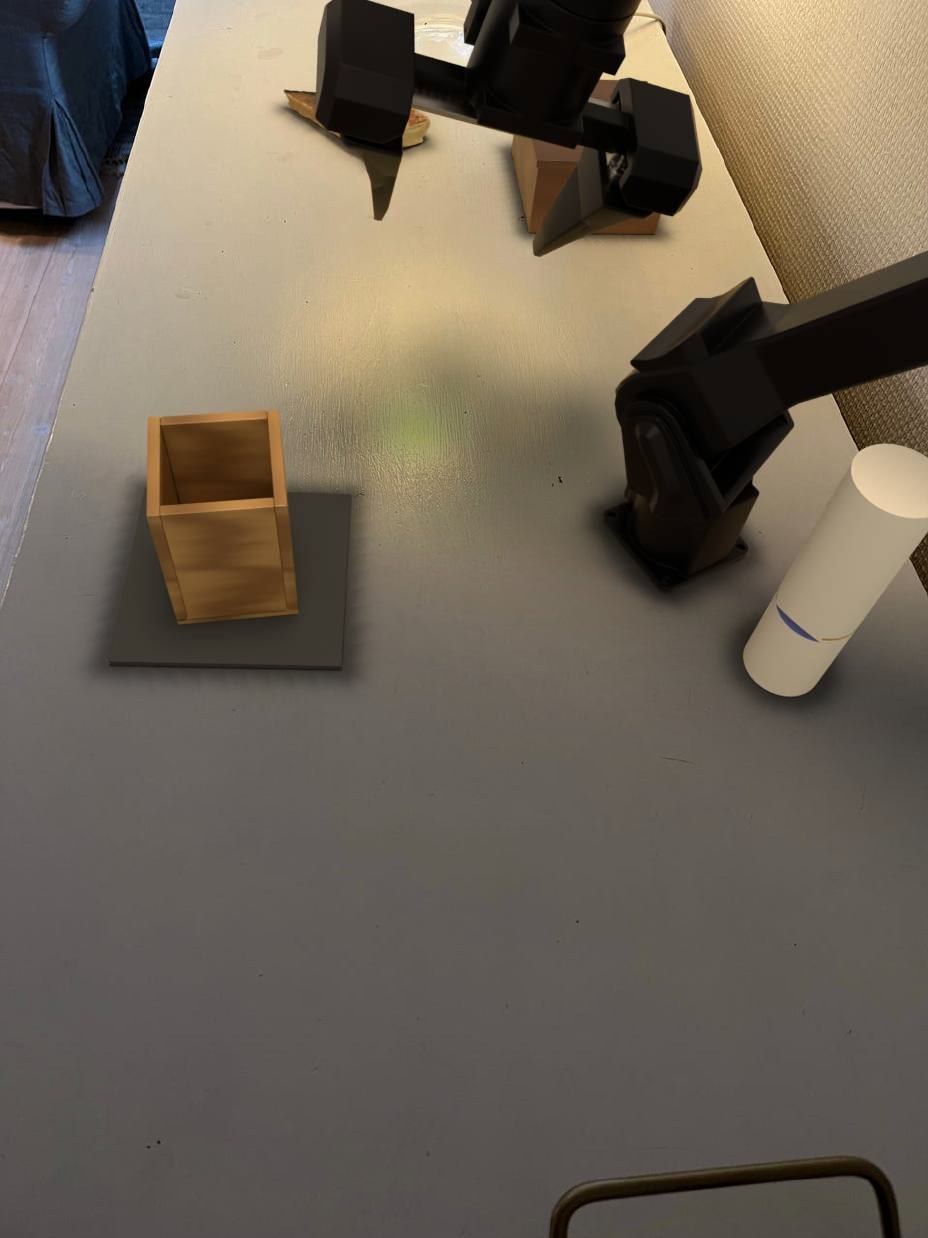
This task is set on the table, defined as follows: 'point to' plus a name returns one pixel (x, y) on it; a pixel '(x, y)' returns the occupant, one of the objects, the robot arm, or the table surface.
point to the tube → (841, 568)
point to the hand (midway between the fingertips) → (458, 232)
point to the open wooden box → (221, 515)
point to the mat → (252, 641)
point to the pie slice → (306, 107)
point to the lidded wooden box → (560, 176)
